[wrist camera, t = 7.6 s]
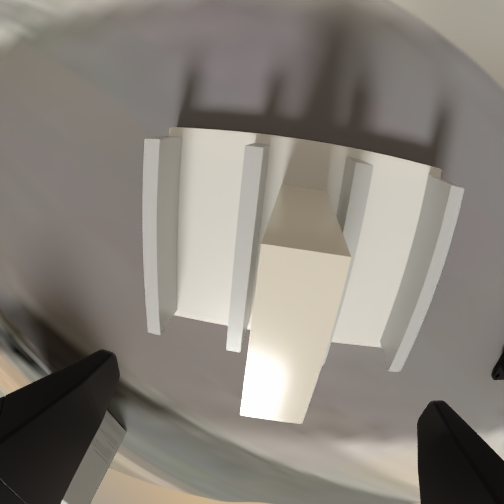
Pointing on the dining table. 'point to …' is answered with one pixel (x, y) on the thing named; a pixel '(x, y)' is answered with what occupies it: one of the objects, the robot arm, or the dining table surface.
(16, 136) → the dining table surface
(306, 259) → the cream rectangular tile
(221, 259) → the rack
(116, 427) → the supplement box
